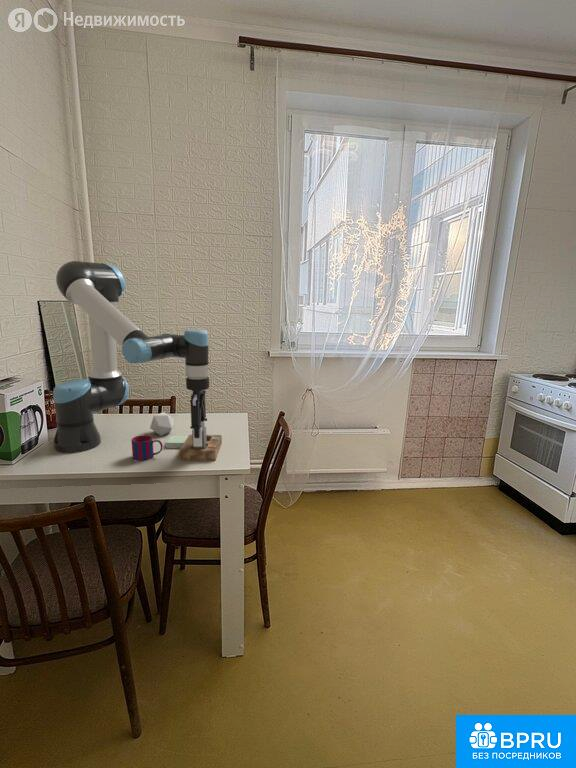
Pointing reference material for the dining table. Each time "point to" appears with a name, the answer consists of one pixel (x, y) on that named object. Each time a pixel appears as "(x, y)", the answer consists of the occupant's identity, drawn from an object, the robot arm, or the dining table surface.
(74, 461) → the dining table surface
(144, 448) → the mug
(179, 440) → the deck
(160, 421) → the die
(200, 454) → the socket block
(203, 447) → the plug
